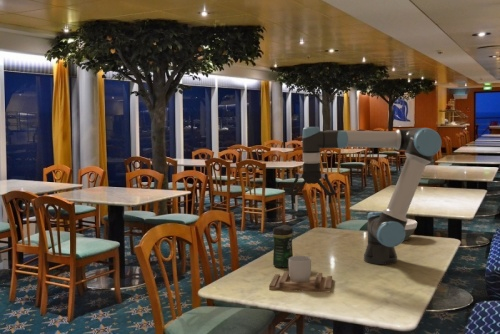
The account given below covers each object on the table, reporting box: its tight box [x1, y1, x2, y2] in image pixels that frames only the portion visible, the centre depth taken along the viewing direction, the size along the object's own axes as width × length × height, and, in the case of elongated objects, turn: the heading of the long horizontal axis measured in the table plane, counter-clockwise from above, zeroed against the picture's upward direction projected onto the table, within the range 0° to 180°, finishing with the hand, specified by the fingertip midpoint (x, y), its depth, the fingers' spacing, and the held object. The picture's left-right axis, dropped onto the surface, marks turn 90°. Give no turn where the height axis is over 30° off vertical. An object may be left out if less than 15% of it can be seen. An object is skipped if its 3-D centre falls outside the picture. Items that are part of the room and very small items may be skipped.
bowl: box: [403, 218, 418, 241], centre depth 301 cm, size 20×20×10 cm
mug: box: [288, 255, 312, 282], centre depth 224 cm, size 13×9×10 cm
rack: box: [268, 271, 333, 292], centre depth 224 cm, size 24×16×3 cm, turn 79°
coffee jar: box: [272, 224, 294, 268], centre depth 252 cm, size 10×8×19 cm
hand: (312, 210), depth 241 cm, fingers open, 13 cm apart
